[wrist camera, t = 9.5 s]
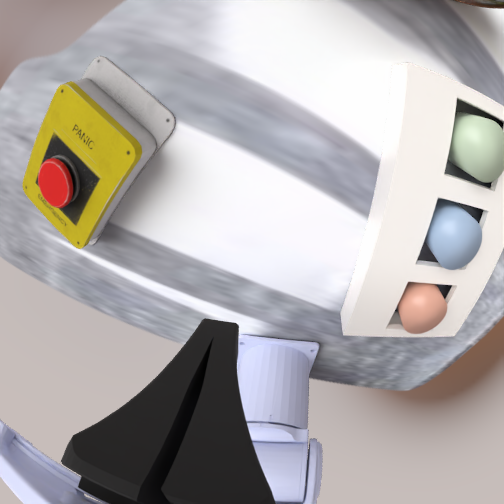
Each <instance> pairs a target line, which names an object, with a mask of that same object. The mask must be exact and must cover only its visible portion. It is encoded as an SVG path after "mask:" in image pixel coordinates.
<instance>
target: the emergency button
mask: <svg viewBox="0 0 504 504" xmlns="http://www.w3.org/2000/svg"><path fill="white" fill-rule="evenodd" d="M174 127H175V117H174V116H173V114H172V112H171V111H169V110H168V109H167V108H166V107H165V106H164V105H163V104H161V103H160V102H159V101H158V100H157V99H156V98H155V97H153V96H152V95H151V94H150V93H149V92H148V91H146V90H145V89H144V88H143V87H142V86H140V85H139V84H138V83H137V82H136V81H134V80H133V79H132V78H131V77H130V76H128V75H127V74H126V73H125V72H124V71H122V70H121V69H120V68H119V67H117V66H116V65H115V64H114V63H113V62H111V61H110V60H109V59H108V58H106V57H103V56H99V57H97V58H95V59H94V60H93V61H92V62H91V63H90V65H89V66H88V68H87V70H86V71H85V73H84V75H83V76H82V78H81V80H77V81H73V82H72V81H70V82H67V83H65V84H62V85H60V86H59V87H58V89H57V91H56V93H55V95H54V97H53V99H52V101H51V103H50V105H49V108H48V110H47V112H46V115H45V117H44V120H43V122H42V125H41V127H40V130H39V132H38V135H37V138H36V141H35V143H34V146H33V149H32V152H31V155H30V159H29V162H28V165H27V169H26V172H25V176H24V179H23V190H24V192H25V194H26V195H27V197H28V198H29V199H30V200H31V201H32V202H33V204H34V205H35V206H36V207H37V208H38V209H39V210H40V211H41V213H42V214H43V215H44V216H45V217H46V218H47V219H48V220H49V221H50V222H51V223H52V224H53V226H54V227H55V228H56V229H57V230H58V231H59V232H60V233H61V234H62V235H63V236H64V237H65V238H66V239H67V240H68V241H69V242H70V243H71V244H72V245H73V246H74V247H76V248H78V249H81V248H83V247H84V246H86V245H87V244H89V245H93V244H94V243H95V242H96V241H97V240H98V238H99V237H100V235H101V233H102V231H103V230H104V228H105V226H106V225H107V223H108V221H109V220H110V218H111V217H112V215H113V213H114V212H115V210H116V209H117V207H118V205H119V204H120V202H121V201H122V199H123V198H124V196H125V195H126V193H127V192H128V190H129V189H130V187H131V186H132V185H133V183H134V182H135V180H136V179H137V177H138V176H139V175H140V173H141V172H142V170H143V169H144V168H145V166H146V165H147V164H148V162H149V161H150V160H151V158H152V157H153V156H154V154H155V153H156V152H157V150H158V149H159V148H160V147H161V145H162V144H163V143H164V142H165V140H166V139H167V138H168V137H169V135H170V134H171V133H172V131H173V129H174Z"/></svg>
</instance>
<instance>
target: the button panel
mask: <svg viewBox="0 0 504 504" xmlns="http://www.w3.org/2000/svg"><path fill="white" fill-rule="evenodd" d="M457 99H459V100H461V101H463V102H466V103H468V104H470V105H472V106H474V107H476V108H478V109H480V110H482V111H484V112H486V113H488V114H490V115H492V116H493V117H495V118H497V119H499V120H501V121H502V122H504V106H502V105H501V104H499V103H497V102H496V101H494V100H492V99H490V98H489V97H487V96H485V95H483V94H481V93H479V92H477V91H476V90H474V89H472V88H470V87H468V86H466V85H463V84H461V83H459V82H457V81H455V80H453V79H450V78H448V77H446V76H443V75H441V74H439V73H436V72H434V71H431V70H428V69H426V68H423V67H420V66H418V65H415V64H412V63H409V62H406V63H402V64H397V65H392V73H391V86H390V96H389V106H388V114H387V122H386V129H385V136H384V143H383V149H382V155H381V161H380V166H379V171H378V177H377V182H376V186H375V191H374V196H373V200H372V205H371V209H370V213H369V218H368V222H367V226H366V230H365V233H364V237H363V241H362V245H361V248H360V252H359V255H358V259H357V262H356V266H355V269H354V272H353V276H352V279H351V282H350V285H349V288H348V291H347V294H346V298H345V300H344V303H343V306H342V309H341V312H340V315H341V322H342V330H343V335H348V336H372V337H447V336H455V335H456V333H457V332H458V330H459V329H460V327H461V326H462V324H463V323H464V321H465V320H466V318H467V316H468V315H469V313H470V312H471V310H472V308H473V307H474V305H475V303H476V302H477V300H478V298H479V296H480V295H481V293H482V291H483V289H484V287H485V285H486V284H487V282H488V280H489V278H490V276H491V274H492V272H493V270H494V268H495V266H496V264H497V261H498V259H499V257H500V255H501V253H502V250H503V248H504V171H503V172H502V174H501V175H500V176H499V177H498V178H497V179H496V180H494V181H492V184H491V188H488V187H485V186H482V185H479V184H477V183H474V182H471V181H468V180H465V179H461V178H458V177H455V176H452V175H449V174H445V173H444V172H445V168H446V163H447V159H448V154H449V149H450V143H451V138H452V132H453V125H454V118H455V111H456V102H457ZM503 131H504V124H503ZM438 197H439V198H443V199H447V200H451V201H455V202H458V203H462V204H466V205H469V206H473V207H476V208H480V209H483V210H484V211H483V214H482V217H481V220H480V222H479V225H480V227H481V229H482V242H481V246H480V248H479V251H478V252H477V254H476V256H475V257H474V258H473V259H472V260H471V261H470V262H469V263H468V264H467V265H465V266H464V267H462V268H459V269H456V270H448V269H445V268H444V267H442V266H441V265H440V263H437V262H429V261H421V260H417V259H418V256H419V253H420V251H421V248H422V245H423V243H424V240H425V237H426V234H427V231H428V228H429V225H430V222H431V219H432V216H433V213H434V209H435V206H436V203H437V199H438ZM408 282H419V283H431V284H443V285H452V287H451V289H450V291H449V293H448V295H447V297H446V299H445V301H446V303H447V313H446V315H445V317H444V319H443V320H442V321H441V322H440V323H439V324H438V325H437V326H436V327H434V328H433V329H431V330H429V331H427V332H424V333H421V334H411V333H408V332H407V331H406V330H405V329H404V327H403V324H402V321H401V318H400V315H399V312H394V311H395V309H396V307H397V305H398V303H399V301H400V299H401V296H402V294H403V292H404V290H405V288H406V285H407V283H408Z"/></svg>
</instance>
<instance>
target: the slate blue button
mask: <svg viewBox="0 0 504 504" xmlns="http://www.w3.org/2000/svg"><path fill="white" fill-rule="evenodd" d="M424 241H425V243H426V244H427V246H428V247H429V249H430V250H431V251H432V253H433V254H434V256H435V257H436V259H437V260H438V262H439V263H440V265H441V266H442V267H444V268H445V269H448V270H456V269H459V268H462V267H464V266H465V265H467V264H468V263H469V262H470V261H471V260H472V259H473V258H474V257H475V256H476V254H477V252H478V251H479V248H480V246H481V242H482V229H481V227H480V225H479V223H478V222H477V221H476V220H475V219H474V218H473V217H472V216H471V215H470V214H469V213H467V212H466V211H465V210H464V209H463V208H462V207H461V206H460V205H459V204H457V203H456V202H455V201H451V200H447V199H443V198H440V199H437V203H436V206H435V209H434V213H433V216H432V219H431V222H430V225H429V228H428V231H427V234H426V237H425V240H424Z"/></svg>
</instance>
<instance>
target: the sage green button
mask: <svg viewBox="0 0 504 504" xmlns="http://www.w3.org/2000/svg"><path fill="white" fill-rule="evenodd" d="M448 160H449V161H450V162H451V163H452V164H454V165H455V166H457V167H459V168H460V169H462V170H464V171H465V172H467V173H468V174H470V175H472V176H473V177H475V178H476V179H478V180H479V181H481V182H492V181H494V180H496V179H497V178H498V177H499V176H500V175H501V174H502V172H503V171H504V131H503V130H502V128H501V127H500V126H499V124H497V123H496V122H495V121H493V120H491V119H487V118H484V117H480V116H476V115H472V114H468V113H464V112H455V118H454V125H453V132H452V138H451V143H450V149H449V154H448Z"/></svg>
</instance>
